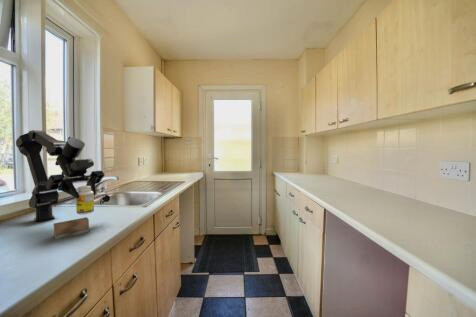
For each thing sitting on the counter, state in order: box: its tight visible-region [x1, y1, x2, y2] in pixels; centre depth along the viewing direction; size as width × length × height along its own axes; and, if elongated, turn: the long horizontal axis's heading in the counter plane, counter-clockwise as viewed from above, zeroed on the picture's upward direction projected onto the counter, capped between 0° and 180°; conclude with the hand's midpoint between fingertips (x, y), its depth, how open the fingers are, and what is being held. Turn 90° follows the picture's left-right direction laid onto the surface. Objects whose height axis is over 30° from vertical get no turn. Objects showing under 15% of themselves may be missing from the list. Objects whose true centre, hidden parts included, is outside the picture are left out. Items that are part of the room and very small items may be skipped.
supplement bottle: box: [75, 185, 95, 216], centre depth 86 cm, size 6×6×10 cm
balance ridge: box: [53, 216, 91, 240], centre depth 83 cm, size 10×6×4 cm, turn 134°
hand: (86, 196), depth 85 cm, fingers closed on supplement bottle, 6 cm apart
